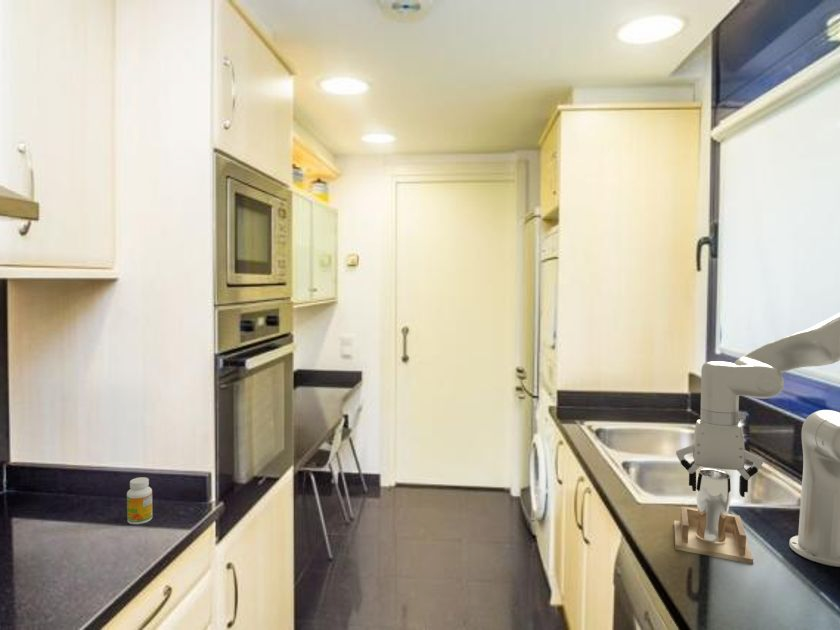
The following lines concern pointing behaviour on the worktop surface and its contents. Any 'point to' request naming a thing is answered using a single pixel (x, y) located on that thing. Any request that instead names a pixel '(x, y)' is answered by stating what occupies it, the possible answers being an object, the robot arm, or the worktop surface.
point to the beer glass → (712, 504)
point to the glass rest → (689, 542)
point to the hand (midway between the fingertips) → (717, 491)
